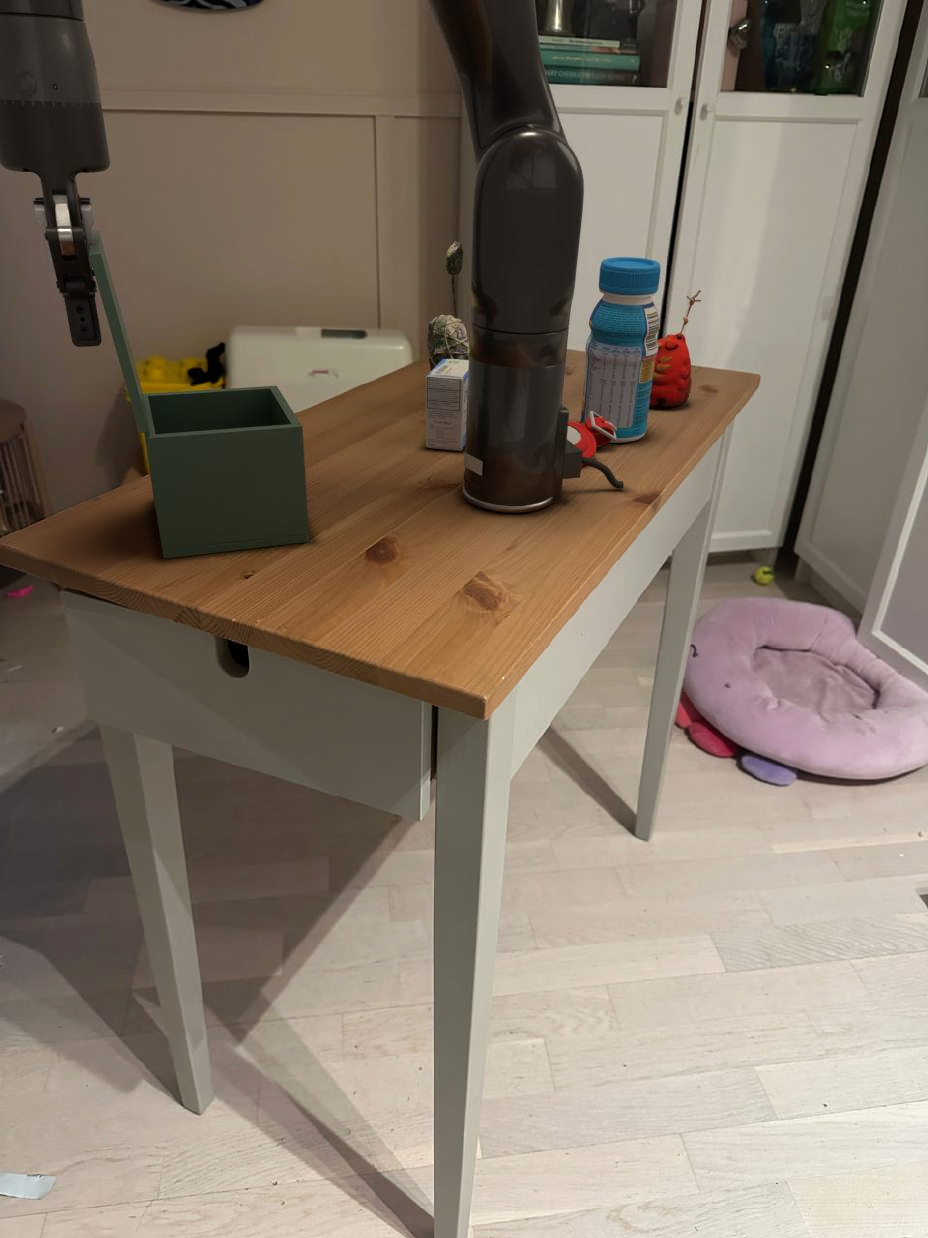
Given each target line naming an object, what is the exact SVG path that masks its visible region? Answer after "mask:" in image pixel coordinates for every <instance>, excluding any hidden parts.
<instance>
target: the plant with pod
mask: <svg viewBox="0 0 928 1238" xmlns="http://www.w3.org/2000/svg"><path fill="white" fill-rule="evenodd" d="M463 263H464V249H463V245H462V243H461V242H459V241H453V243H452V244H451V245H450V246H449V247H448V249H447V251H446V253H445V259H444V264H445V268H446V272H447V273H448V275H451V292H452V293H451V294H452V305H453V306H452V307H453V313H454V314H453V315H451V314H448V315H445V314H440V315H439V316H436V317H434V319H432V320H431V321H430V322H429V324H428V328H427V329H428V334H427V340H426V346H427V353H428V363H429V369H430V372H431V371H432V370H433V369H434V368H435V367H436V366H437V365H438V364H439V362H440V361H441V360H442V359H460V360H469V340H470V337H469V335H468V330H467V328H466V327H465V324H464V322H463V321H462V319H460V318H459V317H458V318H457V305H456V304H457V303H456V293H455V291H456V288H455V285H456V284H455V283H456V282H455V281H456V276H459V274H460V273H461V271H462V269H463ZM426 318H429V316H428V315H427V316H426Z"/></svg>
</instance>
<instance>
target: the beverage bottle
mask: <svg viewBox="0 0 928 1238" xmlns="http://www.w3.org/2000/svg"><path fill="white" fill-rule="evenodd" d="M598 277H599V278H598V291H599V292H600V293H601V294H603V295H602V296H601V298H600V299H599V301H598V302H597V303H596V305H595V307H594V308H593V310H592V311H591V314H590V316H589V319H588V327H589V330H590V334H589V335H588V337H587V339H586V342H585V348H584V349H585V350H584V351H585V364H584V375H583V376H584V378H583V387H582V391H583V392H582V402H581V403H582V404H581V412H580V413H581V415H580V420H579V423H585V420H586V419H587V418H589V417H590V415H589V412H590V411H593V412H595V413H596V414H598V415H599V416H601V417H603V418H605V419H607V420H608V421H609V422H611V423H612V424H613V425H614V426H615V427H616V428H617V431H615V434H616V438H617V440H616V441H613V440H611V441H610V442H609V443H610V444H611V443H612V444H613V443H614V444H623V443H631V442H635V441H638V440H640V439H641V438H643V437H645V435H646V433H647V430H648V429H647V428H648V417H649V410H650V407H649V402H650V395H651V387H652V380H653V373H654V366H655V359H656V357H657V354H658V343H657V341H658V340H657V334H658V332H659V331H660V329H661V321H660V316H659V311H658V309H657V307H656V304H655V302H654V300H653V299H652V297H654V296H656V295H657V293H658V291H659V285H660V279H661V278H660V277H661V263H660V262H659V261H657V260H655V259H649V258H644V257H633V256H617V257H616V256H615V257H614V256H613V257H608V258H604V259H603V260H602V261H601V262H600V266H599V275H598Z"/></svg>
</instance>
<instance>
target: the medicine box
mask: <svg viewBox="0 0 928 1238" xmlns="http://www.w3.org/2000/svg"><path fill="white" fill-rule="evenodd" d="M468 367H469V360H460V359H442V360H441V361H440V362H439V364H438V365H437V366H436V367H435V368H434V369H433V370H432V371H431V370H430V372H429V373H428V374H427V375H426V376H425V448H427V449H434V450H442V451H453V452H462V451H463V449H464V448H465V443H466V418H467V392H468Z"/></svg>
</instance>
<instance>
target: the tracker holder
mask: <svg viewBox="0 0 928 1238" xmlns="http://www.w3.org/2000/svg"><path fill="white" fill-rule="evenodd" d="M589 415H590V417H589V418H587V419H586V420H585V423H580V422H575V421H573V420H569V421H568V432H567V440H568V441H570V442H571V443H572V444H574V445H575V446H576V447H578V448H579V449H581V450H582V451H583V454H582V456H584V457H588V458H591V459H593V458H594V455H595V454H596V451H597V448H598V447H602V446H605V445H606V444H609V443H610V441H611V440H613V441H616V440H617V438H616V434H615V431H617V428H616V427H615V426H614V425H613V424H612V423H611V422H609V421H608V420H607V419H605V418H603V417H601V416H599V415H598V414H596V413H595V412H593V411H590V412H589ZM583 466H585V465H584V464H581V468H582V467H583Z"/></svg>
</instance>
